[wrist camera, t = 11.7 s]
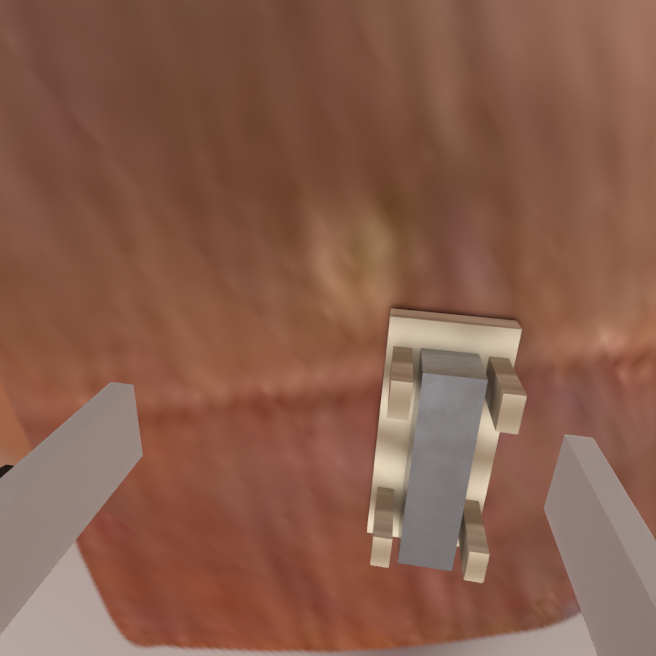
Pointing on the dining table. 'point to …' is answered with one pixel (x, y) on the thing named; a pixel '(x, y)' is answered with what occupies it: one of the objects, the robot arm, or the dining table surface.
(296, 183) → the dining table surface
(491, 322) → the rack
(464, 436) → the bar
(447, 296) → the dining table surface
